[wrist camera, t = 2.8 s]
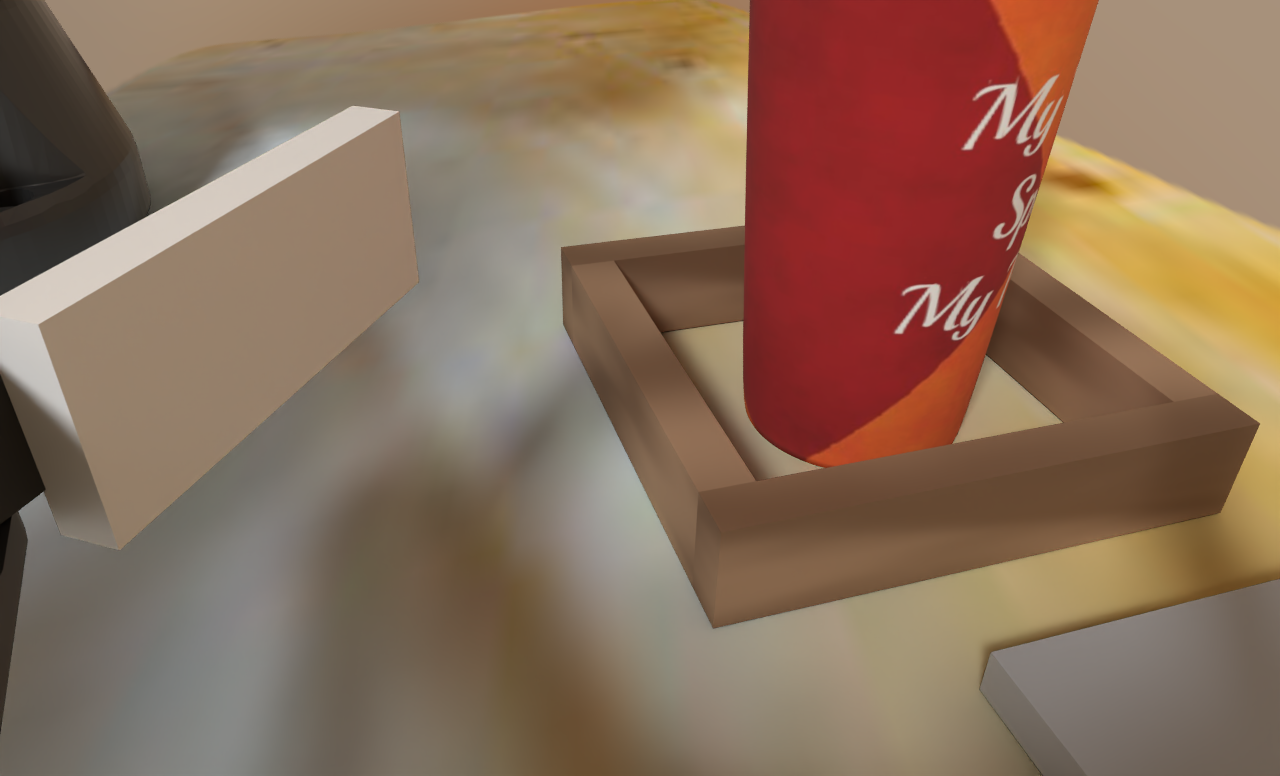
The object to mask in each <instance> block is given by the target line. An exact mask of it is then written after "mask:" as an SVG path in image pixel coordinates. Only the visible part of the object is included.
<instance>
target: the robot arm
mask: <svg viewBox="0 0 1280 776" xmlns="http://www.w3.org/2000/svg"><path fill="white" fill-rule="evenodd" d="M150 201H151V200H150V193H149V189H148V185H147V182H146V178H145V174H144V171H143V167H142V163H141V160H140V156H139V152H138V149H137V145H136V142H135V140H134V138H133V136H132V134H131V131H130V130H129V128H128V126H127V125H126V123H125V122H124V120H123V119H122V117H121V116H120V114H119V113H118V111H117V110H116V108H115V107H114V105H113V104H112V102H111V101H110V99H109V98H108V96H107V95H106V93H105V92H104V90H103V89H102V87H101V85H100V84H99V83H98V81H97V79H96V78H95V76H94V75H93V73H92V72H91V70H90V69H89V67H88V66H87V64H86V63H85V61H84V60H83V58H82V57H81V55H80V54H79V52H78V51H77V49H76V48H75V46H74V45H73V43H72V41H71V40H70V38H69V37H68V35H67V34H66V32H65V31H64V30H63V28H62V26H61V25H60V23H59V22H58V20H57V19H56V17H55V16H54V14H53V13H52V11H51V10H50V8H49V7H48V5H47V3H46V2H45V0H0V732H1V725H2V718H3V711H4V704H5V697H6V690H7V683H8V676H9V669H10V662H11V655H12V648H13V641H14V633H15V626H16V619H17V612H18V605H19V598H20V591H21V584H22V577H23V570H24V563H25V556H26V549H27V542H28V539H27V535H26V530H25V527H24V524H23V522H22V520H21V517H20V515H19V512H18V511H19V510H20V509H21V508H22V507H24V506H25V505H26V504H28V503H29V502H30V501H32V500H33V499H34V498H36V497H37V496H38V495H39V494H41V493H42V492H43V491H44V493H45V496H46V498H47V501H48V503H49V506H50V508H51V511H52V514H53V516H54V519H55V521H56V524H57V526H58V529H59V531H60V534H61V535H63V536H66V537H70V538H74V539H78V540H81V541H85V542H89V543H93V544H96V545H100V546H104V547H108V548H112V549H115V550H121V549H122V548H123V547H124V546H125V545H126V544H127V543H128V542H130V541H131V540H132V539H133V538H134V537H135V536H136V535H137V534H138V533H140V532H141V531H142V530H143V529H144V528H145V527H146V526H147V525H148V524H150V523H151V522H152V521H153V520H154V519H155V518H156V517H157V516H159V515H160V514H161V513H162V512H163V511H164V510H165V509H166V508H167V507H169V506H170V505H171V504H172V503H173V502H174V501H175V500H176V499H178V498H179V497H180V496H181V495H182V494H183V493H184V492H185V491H186V490H188V489H189V488H190V487H191V486H192V485H193V484H194V483H195V482H196V481H198V480H199V479H200V478H201V477H202V476H203V475H204V474H205V473H207V472H208V471H209V470H210V469H211V468H212V467H213V466H214V465H215V464H217V463H218V462H219V461H220V460H221V459H222V458H223V457H224V456H225V455H227V454H228V453H229V452H230V451H231V450H232V449H233V448H234V447H236V446H237V445H238V444H239V443H240V442H241V441H242V440H243V439H244V438H246V437H247V436H248V435H249V434H250V433H251V432H252V431H253V430H255V429H256V428H257V427H258V426H259V425H260V424H261V423H262V422H263V421H265V420H266V419H267V418H268V417H269V416H270V415H271V414H272V413H273V412H275V411H276V410H277V409H278V408H279V407H280V406H281V405H282V404H284V403H285V402H286V401H287V400H288V399H289V398H290V397H291V396H292V395H294V394H295V393H296V392H297V391H298V390H299V389H300V388H301V387H302V386H304V385H305V384H306V383H307V382H308V381H309V380H310V379H311V378H313V377H314V376H315V375H316V374H317V373H318V372H319V371H320V370H321V369H323V368H324V367H325V366H326V365H327V364H328V363H329V362H330V361H331V360H333V359H334V358H335V357H336V356H337V355H338V354H339V353H340V352H342V351H343V350H344V349H345V348H346V347H347V346H348V345H349V344H350V343H352V342H353V341H354V340H355V339H356V338H357V337H358V336H359V335H361V334H362V333H363V332H364V331H365V330H366V329H367V328H368V327H369V326H371V325H372V324H373V323H374V322H375V321H376V320H377V319H378V318H379V317H381V316H382V315H383V314H384V313H385V312H386V311H387V310H388V309H390V308H391V307H392V306H393V305H394V304H395V303H396V302H397V301H398V300H400V299H401V298H402V297H403V296H404V295H405V294H406V293H407V292H408V291H410V290H411V289H412V288H413V287H414V286H415V285H416V284H417V283H419V277H418V268H417V260H416V251H415V242H414V234H413V225H412V217H411V208H410V200H409V191H408V182H407V174H406V165H405V157H404V148H403V140H402V131H401V122H400V114H399V111H392V110H384V109H376V108H368V107H360V106H351V107H349V108H347V109H345V110H344V111H342V112H340V113H338V114H336V115H334V116H332V117H331V118H329V119H327V120H325V121H323V122H321V123H319V124H318V125H316V126H314V127H312V128H310V129H308V130H307V131H305V132H303V133H301V134H299V135H297V136H295V137H294V138H292V139H290V140H288V141H286V142H284V143H282V144H281V145H279V146H277V147H275V148H273V149H271V150H270V151H268V152H266V153H264V154H262V155H260V156H258V157H257V158H255V159H253V160H251V161H249V162H247V163H245V164H244V165H242V166H240V167H238V168H236V169H234V170H232V171H231V172H229V173H227V174H225V175H223V176H221V177H220V178H218V179H216V180H214V181H212V182H210V183H208V184H207V185H205V186H203V187H201V188H199V189H197V190H195V191H194V192H192V193H190V194H188V195H186V196H184V197H183V198H181V199H179V200H177V201H175V202H173V203H171V204H170V205H168V206H166V207H164V208H162V209H160V210H158V211H157V212H155V213H153V214H151V215H149V216H147V217H146V215H147V213H148V210H149V207H150Z"/></svg>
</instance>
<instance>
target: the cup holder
mask: <svg viewBox="0 0 1280 776" xmlns="http://www.w3.org/2000/svg"><path fill="white" fill-rule="evenodd" d="M744 252H745V226H738V227H729V228H721V229H712V230H704V231H695V232H687V233H678V234H670V235H661V236H653V237H644V238H636V239H627V240H619V241H610V242H602V243H593V244H585V245H576V246H568V247H561V261H562V296H563V325H564V327H565V329H566V331H567V333H568V335H569V337H570V339H571V341H572V343H573V345H574V347H575V349H576V351H577V353H578V355H579V357H580V359H581V361H582V363H583V365H584V367H585V369H586V371H587V373H588V376H589V378H590V380H591V382H592V384H593V386H594V388H595V390H596V392H597V394H598V396H599V398H600V400H601V402H602V404H603V406H604V408H605V410H606V412H607V414H608V416H609V418H610V420H611V422H612V424H613V426H614V428H615V430H616V432H617V434H618V436H619V438H620V440H621V442H622V444H623V446H624V449H625V451H626V453H627V455H628V457H629V459H630V461H631V463H632V465H633V467H634V469H635V471H636V473H637V475H638V477H639V479H640V481H641V483H642V485H643V487H644V489H645V491H646V493H647V495H648V497H649V499H650V501H651V503H652V505H653V507H654V509H655V511H656V513H657V515H658V517H659V519H660V522H661V524H662V526H663V528H664V530H665V532H666V534H667V536H668V538H669V540H670V542H671V544H672V546H673V548H674V550H675V552H676V554H677V556H678V558H679V560H680V562H681V564H682V566H683V568H684V570H685V572H686V574H687V576H688V578H689V580H690V582H691V584H692V586H693V588H694V590H695V592H696V594H697V597H698V599H699V601H700V603H701V605H702V607H703V609H704V611H705V613H706V615H707V617H708V619H709V621H710V623H711V625H712V627H713V628H717V627H721V626H726V625H730V624H734V623H739V622H743V621H747V620H752V619H756V618H761V617H765V616H769V615H774V614H778V613H783V612H787V611H791V610H796V609H800V608H804V607H809V606H813V605H818V604H822V603H826V602H831V601H835V600H839V599H844V598H848V597H853V596H857V595H861V594H866V593H870V592H875V591H879V590H883V589H888V588H892V587H896V586H901V585H905V584H910V583H914V582H918V581H923V580H927V579H931V578H936V577H940V576H945V575H949V574H953V573H958V572H962V571H967V570H971V569H975V568H980V567H984V566H988V565H993V564H997V563H1002V562H1006V561H1010V560H1015V559H1019V558H1023V557H1028V556H1032V555H1037V554H1041V553H1045V552H1050V551H1054V550H1059V549H1063V548H1067V547H1072V546H1076V545H1080V544H1085V543H1089V542H1094V541H1098V540H1102V539H1107V538H1111V537H1115V536H1120V535H1124V534H1129V533H1133V532H1137V531H1142V530H1146V529H1151V528H1155V527H1159V526H1164V525H1168V524H1172V523H1177V522H1181V521H1186V520H1190V519H1194V518H1199V517H1203V516H1207V515H1212V514H1216V513H1220V512H1221V510H1222V508H1223V506H1224V503H1225V501H1226V499H1227V497H1228V494H1229V492H1230V490H1231V488H1232V485H1233V483H1234V481H1235V479H1236V476H1237V474H1238V472H1239V470H1240V467H1241V465H1242V463H1243V461H1244V458H1245V456H1246V454H1247V452H1248V450H1249V447H1250V445H1251V443H1252V441H1253V438H1254V436H1255V434H1256V432H1257V429H1258V427H1259V425H1260V423H1258V422H1257V421H1256V420H1254V419H1253V418H1251V417H1250V416H1249V415H1247V414H1246V413H1244V412H1243V411H1241V410H1240V409H1239V408H1237V407H1236V406H1234V405H1233V404H1232V403H1230V402H1229V401H1227V400H1226V399H1225V398H1223V397H1222V396H1220V395H1219V394H1217V393H1216V392H1215V391H1213V390H1212V389H1210V388H1209V387H1208V386H1206V385H1205V384H1203V383H1202V382H1200V381H1199V380H1198V379H1196V378H1195V377H1193V376H1192V375H1191V374H1189V373H1188V372H1186V371H1185V370H1184V369H1182V368H1181V367H1179V366H1178V365H1176V364H1175V363H1174V362H1172V361H1171V360H1169V359H1168V358H1167V357H1165V356H1164V355H1162V354H1161V353H1159V352H1158V351H1157V350H1155V349H1154V348H1152V347H1151V346H1150V345H1148V344H1147V343H1145V342H1144V341H1142V340H1141V339H1140V338H1138V337H1137V336H1135V335H1134V334H1133V333H1131V332H1130V331H1128V330H1127V329H1126V328H1124V327H1123V326H1121V325H1120V324H1118V323H1117V322H1116V321H1114V320H1113V319H1111V318H1110V317H1109V316H1107V315H1106V314H1104V313H1103V312H1101V311H1100V310H1099V309H1097V308H1096V307H1094V306H1093V305H1092V304H1090V303H1089V302H1087V301H1086V300H1085V299H1083V298H1082V297H1080V296H1079V295H1077V294H1076V293H1075V292H1073V291H1072V290H1070V289H1069V288H1068V287H1066V286H1065V285H1063V284H1062V283H1060V282H1059V281H1058V280H1056V279H1055V278H1053V277H1052V276H1051V275H1049V274H1048V273H1046V272H1045V271H1043V270H1042V269H1041V268H1039V267H1038V266H1036V265H1035V264H1034V263H1032V262H1031V261H1029V260H1028V259H1027V258H1025V257H1024V256H1022V255H1021V254H1019V253H1018V256H1017V259H1016V262H1015V265H1014V268H1013V271H1012V274H1011V277H1010V281H1009V284H1008V287H1007V290H1006V293H1005V296H1004V299H1003V302H1002V305H1001V309H1000V312H999V315H998V318H997V321H996V324H995V327H994V330H993V333H992V336H991V339H990V342H989V345H988V348H987V351H986V354H987V355H988V356H989V357H990V358H991V359H992V360H994V361H995V362H996V363H997V364H998V365H999V366H1000V367H1002V368H1003V369H1004V370H1005V371H1006V372H1007V373H1008V374H1010V375H1011V376H1012V377H1013V378H1014V379H1015V380H1016V381H1017V382H1019V383H1020V384H1021V385H1022V386H1023V387H1024V388H1025V389H1027V390H1028V391H1029V392H1030V393H1031V394H1032V395H1033V396H1035V397H1036V398H1037V399H1038V400H1039V401H1040V402H1041V403H1043V404H1044V405H1045V406H1046V407H1047V408H1048V409H1049V410H1050V411H1052V412H1053V413H1054V414H1055V415H1056V416H1057V417H1058V418H1060V419H1061V420H1062V421H1063V422H1064V423H1060V424H1055V425H1050V426H1044V427H1039V428H1034V429H1029V430H1023V431H1018V432H1013V433H1007V434H1002V435H997V436H992V437H986V438H981V439H976V440H971V441H965V442H960V443H955V444H949V445H944V446H939V447H934V448H928V449H923V450H918V451H913V452H907V453H902V454H897V455H891V456H886V457H881V458H876V459H870V460H865V461H860V462H855V463H849V464H844V465H839V466H833V467H828V468H823V469H818V470H812V471H807V472H802V473H797V474H791V475H786V476H781V477H775V478H770V479H765V480H760V481H756V480H755V479H754V477H753V475H752V474H751V472H750V471H749V469H748V468H747V466H746V465H745V463H744V461H743V460H742V458H741V457H740V455H739V454H738V452H737V451H736V449H735V448H734V446H733V444H732V443H731V441H730V440H729V438H728V437H727V435H726V434H725V432H724V430H723V429H722V427H721V426H720V424H719V423H718V421H717V420H716V418H715V417H714V415H713V413H712V412H711V410H710V409H709V407H708V406H707V404H706V403H705V401H704V399H703V398H702V396H701V395H700V393H699V392H698V390H697V389H696V387H695V386H694V384H693V382H692V381H691V379H690V378H689V376H688V375H687V373H686V372H685V370H684V368H683V367H682V365H681V364H680V362H679V361H678V359H677V358H676V356H675V355H674V353H673V351H672V350H671V348H670V347H669V345H668V344H667V342H666V341H665V339H664V337H663V336H662V334H661V333H660V332H665V331H672V330H679V329H686V328H693V327H700V326H706V325H713V324H720V323H727V322H734V321H741V320H743V318H744Z"/></svg>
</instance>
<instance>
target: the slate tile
mask: <svg viewBox="0 0 1280 776" xmlns="http://www.w3.org/2000/svg"><path fill="white" fill-rule="evenodd" d="M980 691H981V692H982V693H983V695H984V696H985V698H986V699H987V700H988V702H989V703H990V704H991V706H992V707H993V708H994V710H995V711H996V712H997V714H998V715H999V717H1000V718H1001V719H1002V721H1003V722H1004V723H1005V725H1006V726H1007V727H1008V729H1009V730H1010V731H1011V733H1012V734H1013V736H1014V737H1015V738H1016V740H1017V741H1018V742H1019V744H1020V745H1021V746H1022V748H1023V749H1024V750H1025V752H1026V753H1027V755H1028V756H1029V757H1030V759H1031V760H1032V761H1033V763H1034V764H1035V765H1036V767H1037V768H1038V769H1039V771H1040V772H1041V774H1042V775H1043V776H1280V579H1277V580H1273V581H1269V582H1265V583H1261V584H1257V585H1253V586H1249V587H1245V588H1242V589H1238V590H1234V591H1230V592H1226V593H1222V594H1218V595H1214V596H1210V597H1206V598H1202V599H1198V600H1194V601H1190V602H1187V603H1183V604H1179V605H1175V606H1171V607H1167V608H1163V609H1159V610H1155V611H1151V612H1147V613H1143V614H1139V615H1135V616H1132V617H1128V618H1124V619H1120V620H1116V621H1112V622H1108V623H1104V624H1100V625H1096V626H1092V627H1088V628H1084V629H1080V630H1077V631H1073V632H1069V633H1065V634H1061V635H1057V636H1053V637H1049V638H1045V639H1041V640H1037V641H1033V642H1029V643H1025V644H1022V645H1018V646H1014V647H1010V648H1006V649H1002V650H998V651H994V652H991V654H990V657H989V660H988V663H987V667H986V670H985V673H984V676H983V680H982V683H981V686H980Z"/></svg>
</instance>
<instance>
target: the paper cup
mask: <svg viewBox="0 0 1280 776" xmlns="http://www.w3.org/2000/svg"><path fill="white" fill-rule="evenodd" d="M1098 1H1099V0H750V21H749V65H748V108H747V152H746V202H745V252H744V318H743V383H744V401H745V408H746V412H747V415H748V417H749V419H750V421H751V423H752V424H753V426H754V427H755V428H756V430H757V431H758V432H759V433H760V434H761V435H762V436H763V437H764V438H765V439H766V440H767V441H769V442H770V443H771V444H773V445H774V446H776V447H777V448H779V449H780V450H782V451H784V452H785V453H787V454H789V455H791V456H793V457H795V458H798V459H800V460H802V461H805V462H808V463H811V464H814V465H817V466H820V467H824V468H828V467H833V466H839V465H844V464H849V463H855V462H860V461H865V460H870V459H876V458H881V457H886V456H891V455H897V454H902V453H907V452H913V451H918V450H923V449H928V448H934V447H939V446H944V445H949V444H952V443H953V441H954V439H955V437H956V435H957V433H958V431H959V429H960V426H961V423H962V421H963V418H964V416H965V413H966V410H967V407H968V405H969V402H970V399H971V396H972V393H973V390H974V387H975V384H976V381H977V379H978V376H979V373H980V370H981V367H982V364H983V361H984V357H985V354H986V351H987V348H988V345H989V342H990V339H991V336H992V333H993V330H994V327H995V324H996V321H997V318H998V315H999V312H1000V309H1001V305H1002V302H1003V299H1004V296H1005V293H1006V290H1007V287H1008V284H1009V281H1010V277H1011V274H1012V271H1013V268H1014V265H1015V262H1016V259H1017V256H1018V253H1019V249H1020V246H1021V243H1022V240H1023V237H1024V234H1025V231H1026V228H1027V224H1028V221H1029V218H1030V215H1031V212H1032V209H1033V206H1034V203H1035V199H1036V196H1037V193H1038V190H1039V187H1040V184H1041V181H1042V177H1043V174H1044V171H1045V168H1046V165H1047V162H1048V159H1049V155H1050V152H1051V149H1052V146H1053V143H1054V140H1055V136H1056V133H1057V130H1058V127H1059V124H1060V121H1061V117H1062V114H1063V111H1064V108H1065V105H1066V102H1067V99H1068V95H1069V92H1070V89H1071V86H1072V83H1073V79H1074V76H1075V73H1076V70H1077V67H1078V64H1079V61H1080V58H1081V54H1082V51H1083V48H1084V45H1085V42H1086V39H1087V35H1088V32H1089V29H1090V26H1091V23H1092V20H1093V17H1094V13H1095V10H1096V7H1097V4H1098Z"/></svg>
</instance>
